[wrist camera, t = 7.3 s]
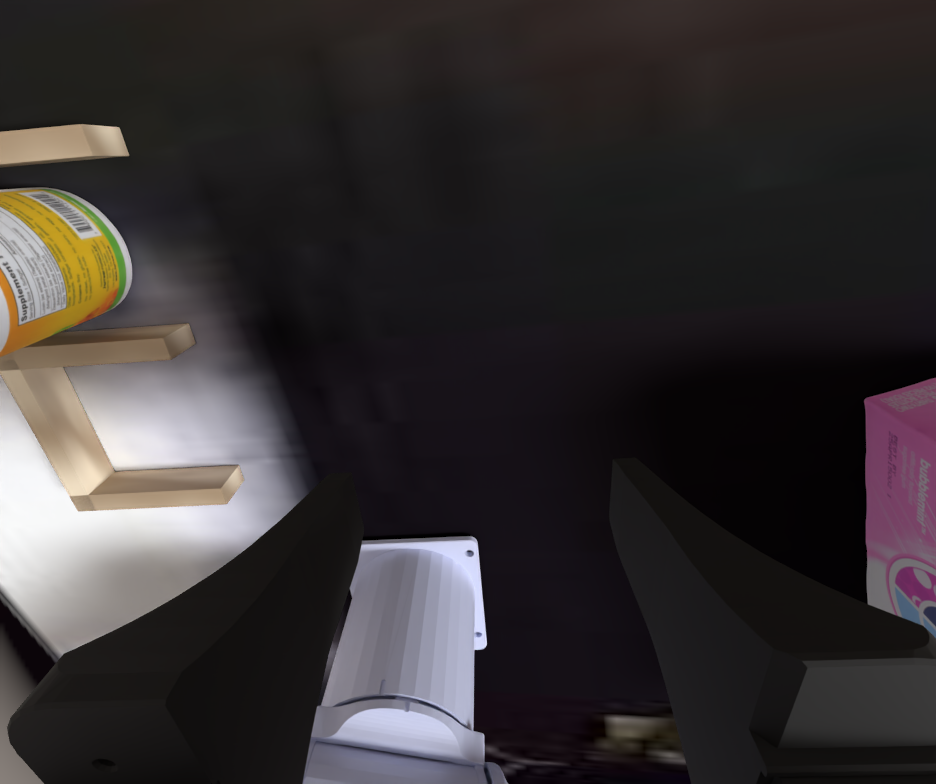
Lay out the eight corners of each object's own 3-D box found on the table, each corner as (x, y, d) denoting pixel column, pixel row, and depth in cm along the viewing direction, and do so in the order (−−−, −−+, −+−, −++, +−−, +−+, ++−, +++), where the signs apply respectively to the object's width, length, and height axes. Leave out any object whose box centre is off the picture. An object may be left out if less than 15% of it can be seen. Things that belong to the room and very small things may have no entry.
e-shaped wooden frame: (244, 480, 26) (226, 503, 24) (105, 487, 26) (78, 511, 25) (119, 127, 19) (80, 124, 17) (-72, 145, 19) (-130, 144, 17)
